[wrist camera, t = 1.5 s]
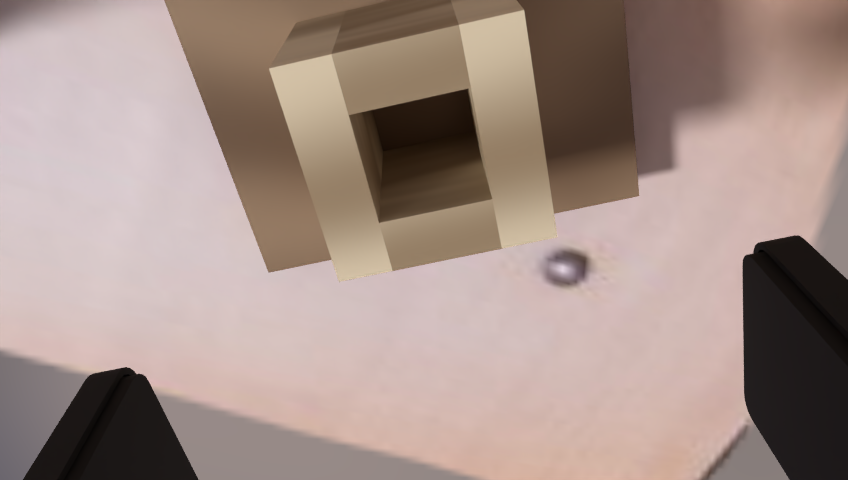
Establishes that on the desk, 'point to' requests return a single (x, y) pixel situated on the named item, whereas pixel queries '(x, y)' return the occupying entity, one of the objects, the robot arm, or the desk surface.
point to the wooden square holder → (425, 162)
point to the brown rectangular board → (407, 108)
